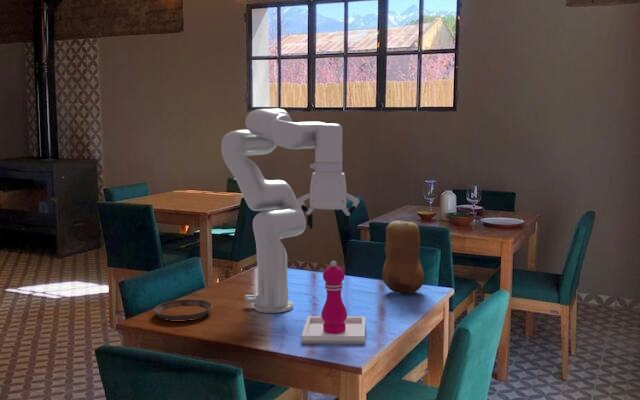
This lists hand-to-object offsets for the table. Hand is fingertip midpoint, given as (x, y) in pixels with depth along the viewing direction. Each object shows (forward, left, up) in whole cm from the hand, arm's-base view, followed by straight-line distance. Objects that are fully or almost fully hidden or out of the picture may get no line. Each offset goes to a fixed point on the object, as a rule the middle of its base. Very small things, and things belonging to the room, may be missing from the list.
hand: (328, 228), depth 188 cm
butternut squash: (+23, +38, -30) cm, 53 cm away
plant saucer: (-46, +12, -30) cm, 56 cm away
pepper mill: (+2, -4, -29) cm, 29 cm away
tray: (+2, -4, -29) cm, 30 cm away
